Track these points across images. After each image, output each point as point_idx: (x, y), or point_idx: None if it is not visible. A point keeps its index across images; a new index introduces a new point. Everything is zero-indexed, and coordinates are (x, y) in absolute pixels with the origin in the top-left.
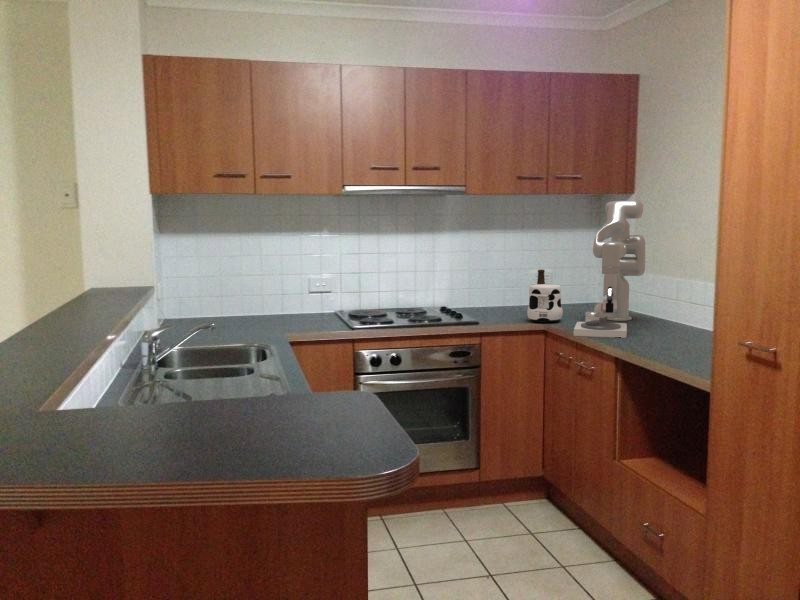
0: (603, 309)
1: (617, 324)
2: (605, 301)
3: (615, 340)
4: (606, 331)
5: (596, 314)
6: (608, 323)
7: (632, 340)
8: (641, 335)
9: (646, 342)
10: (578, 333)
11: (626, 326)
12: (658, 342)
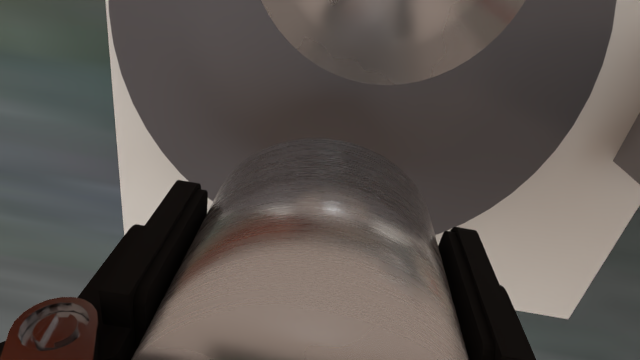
0: (269, 171)
1: None
2: (159, 322)
3: (6, 112)
4: (119, 75)
5: (271, 9)
6: (472, 160)
7: (59, 228)
8: None
9: (18, 288)
10: None
11: None
12: None
